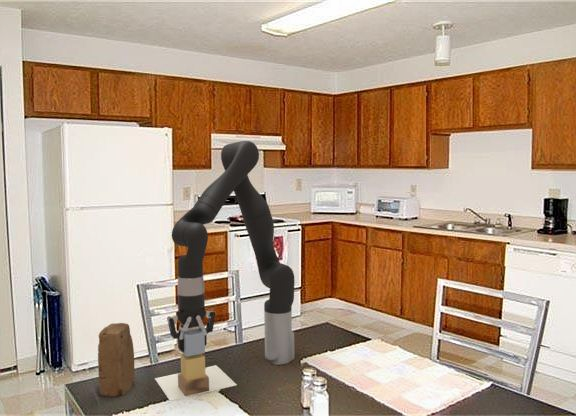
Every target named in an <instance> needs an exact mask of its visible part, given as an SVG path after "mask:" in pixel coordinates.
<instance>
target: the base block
mask: <svg viewBox="0 0 576 416" xmlns="http://www.w3.org/2000/svg"><path fill="white" fill-rule="evenodd" d="M178 373H179V374H178ZM178 373H177V374H178V387H179V389H180V390H181V391H182V393H183V394H184V395H185V396H189V395H194V394H198V393H202V392H206V391H209V377H208V376H207V375H206V374H205V377H203V378H198V379H194V380H189V381H186V379H185V378H184V377H183V376H182V375H181V372H178ZM206 393H207V392H206ZM202 394H203V393H202ZM198 395H199V394H198ZM194 396H195V395H194ZM189 397H190V396H189Z"/></svg>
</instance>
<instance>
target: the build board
mask: <svg viewBox="0 0 576 416" xmlns="http://www.w3.org/2000/svg"><path fill="white" fill-rule="evenodd" d="M179 373H180V372H178V373H173V374H169V375H164V376H161V377H160V376H159V377H154V380H155V381H156V383H157V384H158V386H159V387H160V388H161V390H162V391H163V393H164V394H165V396H166V397H167V399H168V400H169V402H173V401H177V400H180V399H181V400H182V399H185V398H188V397H193V396H198V395H201V394H205V393H210V392H213V391H214V392H215V391H219V390H224V389H227V388H231V387H235V386H238V384H237V383H236V382H235V381H233V379H232V378H230V376H228V375H227V374H226V373H225V372H224V371H223V370H222V369H221V368H220V367H218V365H216V364H215V365H211V366H207V367H206V366H205V374H206V375H207V376H208V377H209V391H206V392H202V393H198V394H194V395H189V396H185V395H184V394H183V393H182V391H181V390H180V389H179V387H178V374H179Z"/></svg>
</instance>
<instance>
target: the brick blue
mask: <svg viewBox="0 0 576 416" xmlns="http://www.w3.org/2000/svg"><path fill="white" fill-rule="evenodd" d="M183 339H184V352H181V354H184V355H185V356H186V357H187V356H192V355H197V354H205V352H206V350H205V348H206V346H205V336H204V332H203V331H201V329H199V328H198V326H196V327H190V328H188V329H187V331H186V332H185V334H184V338H183Z"/></svg>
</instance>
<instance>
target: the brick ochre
mask: <svg viewBox="0 0 576 416" xmlns="http://www.w3.org/2000/svg"><path fill="white" fill-rule="evenodd" d="M205 368H206V356H205V355H204V353H202V354H197V355H192V356H187V357H186V356H185V355H184V354H183V353H180V373H181V375H182V376H183V377H184V378H185V379H186V381H189V380H194V379H198V378H203V377H205Z"/></svg>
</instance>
